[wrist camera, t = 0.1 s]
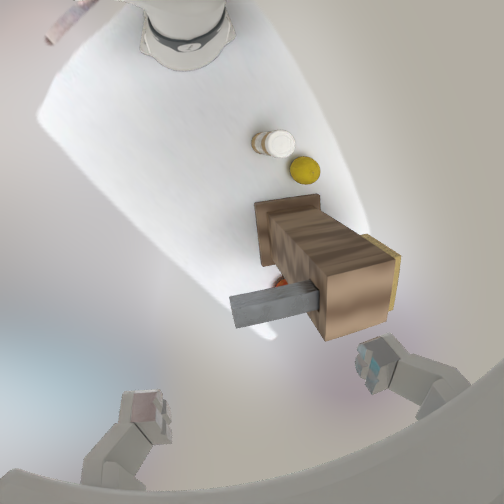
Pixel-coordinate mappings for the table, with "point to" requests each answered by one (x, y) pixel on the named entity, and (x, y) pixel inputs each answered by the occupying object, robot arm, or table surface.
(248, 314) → the shaft
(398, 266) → the frame
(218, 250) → the table surface
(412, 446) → the robot arm
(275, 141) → the sprinkles bottle
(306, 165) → the lemon
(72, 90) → the table surface
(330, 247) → the block
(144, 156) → the table surface
